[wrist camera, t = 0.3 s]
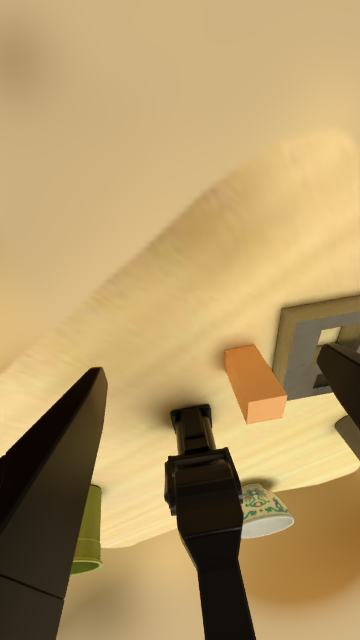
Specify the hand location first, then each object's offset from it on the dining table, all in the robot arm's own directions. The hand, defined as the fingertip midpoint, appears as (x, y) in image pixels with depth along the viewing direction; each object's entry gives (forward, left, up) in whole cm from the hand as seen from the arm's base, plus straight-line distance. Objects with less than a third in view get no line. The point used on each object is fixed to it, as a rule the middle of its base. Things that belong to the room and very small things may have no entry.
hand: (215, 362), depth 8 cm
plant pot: (-47, +28, -14) cm, 56 cm away
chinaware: (-64, -10, -14) cm, 66 cm away
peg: (-15, -6, -14) cm, 21 cm away
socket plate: (-15, -17, -14) cm, 27 cm away
